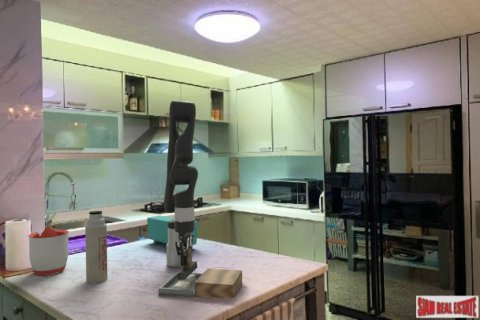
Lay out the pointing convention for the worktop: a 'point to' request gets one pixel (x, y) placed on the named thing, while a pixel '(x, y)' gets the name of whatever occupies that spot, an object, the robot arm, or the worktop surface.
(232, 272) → the board
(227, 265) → the worktop surface
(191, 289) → the bin
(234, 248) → the worktop surface
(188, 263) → the scraper
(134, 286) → the worktop surface
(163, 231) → the radio
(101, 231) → the thermos bottle
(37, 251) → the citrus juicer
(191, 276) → the tile
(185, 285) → the tile
